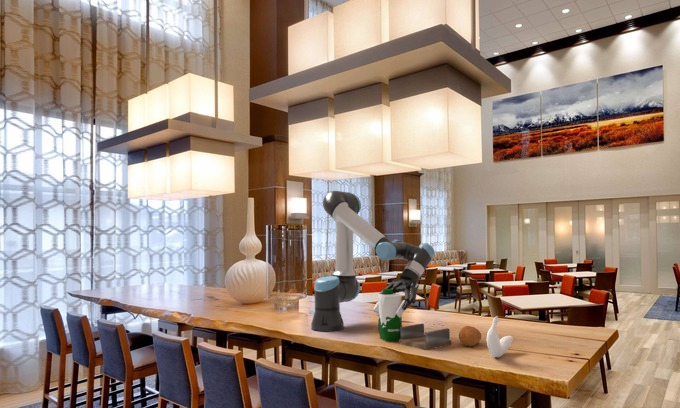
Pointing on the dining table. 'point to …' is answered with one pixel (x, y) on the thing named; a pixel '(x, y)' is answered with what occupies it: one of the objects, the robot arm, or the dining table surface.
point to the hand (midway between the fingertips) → (386, 313)
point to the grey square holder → (424, 337)
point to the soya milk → (389, 315)
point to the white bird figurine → (497, 341)
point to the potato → (469, 336)
